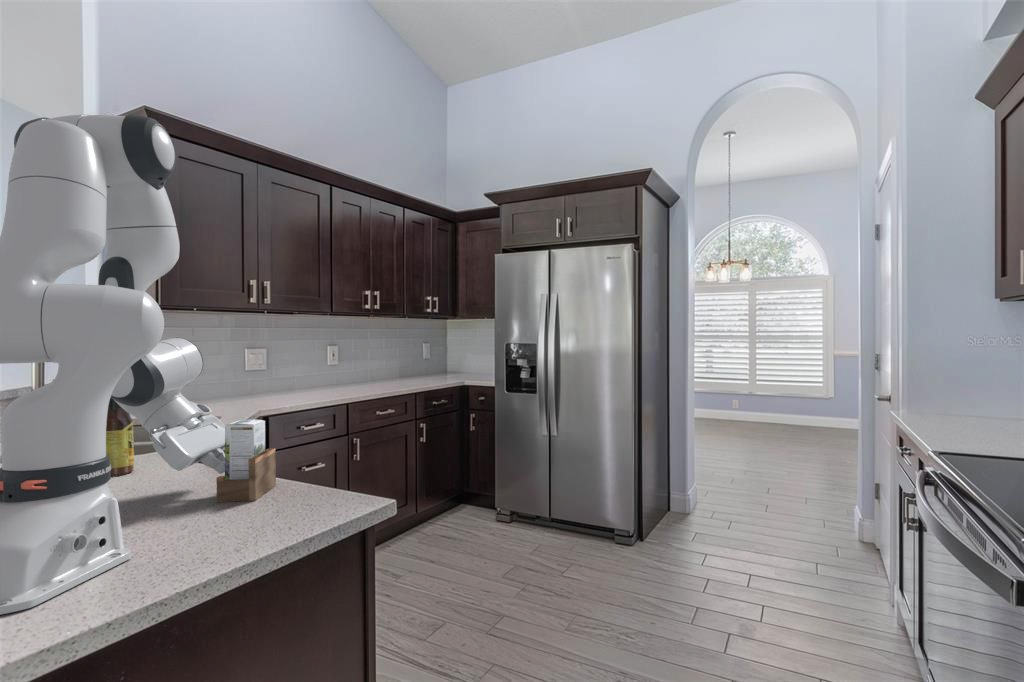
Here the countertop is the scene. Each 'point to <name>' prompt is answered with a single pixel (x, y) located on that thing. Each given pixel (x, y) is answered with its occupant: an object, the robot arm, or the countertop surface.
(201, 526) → the countertop surface
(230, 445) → the syrup box
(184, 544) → the countertop surface
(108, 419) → the sauce bottle
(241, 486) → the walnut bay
